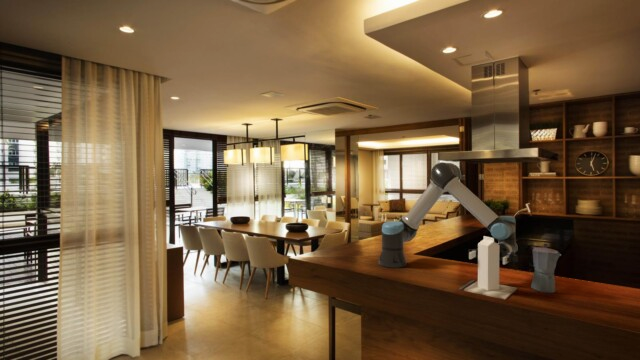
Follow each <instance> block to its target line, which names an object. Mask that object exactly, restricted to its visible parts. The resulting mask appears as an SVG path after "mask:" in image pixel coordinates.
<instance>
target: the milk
mask: <svg viewBox="0 0 640 360" xmlns="http://www.w3.org/2000/svg"><path fill="white" fill-rule="evenodd" d="M477 249H478V256H477V281H478V287H480V288H483V289H485V290H488V291H489V290H498V289H499V284H500V260H499V245H498V244H497V242H496V241H495V238H494V237H491V236H486V235H483V239H482V240H480V242H478V243H477Z"/></svg>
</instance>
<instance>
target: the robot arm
mask: <svg viewBox="0 0 640 360" xmlns="http://www.w3.org/2000/svg"><path fill="white" fill-rule="evenodd" d="M461 178H462V172H461V169H460V167H458V165H456V164H454V163H451V162H443V161H442V162H438V163H436V164H434V166H433V167H432V168H431V170H430V179H429V181H430V183H429V185H427V187H426V189H425V190H424V191H423V192H422V194H421V195H420V196H419V198H418V199H417V200H416V202H415V203H414V204H413V206H412V207H411V208H410V210H409V211H408V212H407V214H405V215H402V216H401V217H400V219H399V220H391V221H386V222H384V223H383V224H382V225H381V252H380V254H379V257H378V258H379V259H378V265H380V266H381V267H386V268H391V269H392V268H395V269H396V268H404V267H407V258H406V256H405V253H404V244H405V243H408V242H410V241H412V240H413V239H415V237H416V236H417V233H418V231H419V229H420V224H421V222H422V221H423V220H424V219H425V217H426V216H427V214H428V213H429V212H430V210H432V208H433V207H434V206H435V204H436V203H437V202H438V201H439V200H440V198H441V197H442V196H443V194H444V193H447V192H448V193H449V195H451V196H452V197H453V198H454V199H455V200H456V201H457V202H459V203H460V204H461V205H462V207H464V208H465V209H466V210H467V211H468V212H469V213H470V214H471V215H472V216H473V217H475V219H477V220H478V221H479V222H480V224H482V225H483V226H484V228H486V229H487V230H488V231H489V232H490V235H491V236H492V238H494V240H495V239H496V240H497V241H498V243H497V242H496V243H497V244H498V245H499V261H502V265H507V264H508V263H513V262H514V263H519V259H518V258H519V256H518V255H517V254H516V253H517V252H518V248H519V247H518V244H517V242H516V241H517V239H516V238H517V237H516V225H517V223H516V218H515V216H513V215H512V216H511V215H500V216H499V215H497V213H495V212H494V210H492V209H491V208H490V207H489V206H488V205H486V204H485V203H484V202H483V201H482V200H481V199H480V198H479V197H478V196H477V195H476V194H474V193H473V192H472V191H471V190H470V189H469V188H468V187H467V186H466V185H464V184H463V183H462V182H461V181H460V180H461ZM477 257H478V248H473V249H468V259H469V260H472V259H474V258H477Z"/></svg>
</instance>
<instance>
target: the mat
mask: <svg viewBox="0 0 640 360" xmlns="http://www.w3.org/2000/svg"><path fill="white" fill-rule="evenodd" d="M457 289H458V290H460V291H461V290H464V292H469V293H473V294H478V295H483V296H487V297H492V298H496V299H500V300H501V299H502V300H507V299H508V298H509V297H510V296H511V295H513V293H515V292H516V291H517V290H518V287H514V286H508V285H504V284H500V283H499V289H498V290H489V291H488V290H485V289H483V288H480V287H478V280H477V281H476V280H475V279H472V280H470V281H469V282H467V283H465V284H463V285H461V286H460V287H457Z"/></svg>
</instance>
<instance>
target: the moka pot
mask: <svg viewBox="0 0 640 360" xmlns="http://www.w3.org/2000/svg"><path fill="white" fill-rule="evenodd" d="M548 246H549V245H548V243H544V244H543V247H537V246H533V245H531V244H529V245H528V246H527V247H526V248H525V254H526V259H527V263H528V265H529V267H531V268H534V271H533V275H532V280H531V283H530V284H531V285H530V286H531V287H530V288H531V289H533V290H535V291H538V292H540V293H547V294H552V293H553V294H554V293H555V292H556V281H555V270H556V266H557V263H558V259H559V258H560V257H562V254H561V253H560V252H559V251H558V250H555V249H552V248H549V247H548ZM529 250H530V251H532V259H533V260H532V261H531V257H530V252H529ZM532 262H533V263H532Z"/></svg>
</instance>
